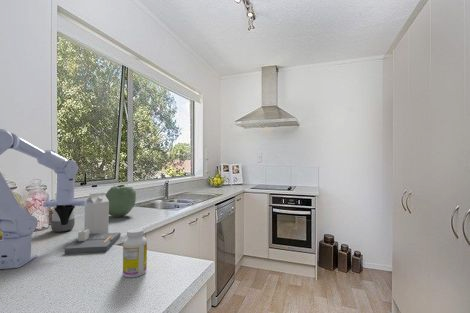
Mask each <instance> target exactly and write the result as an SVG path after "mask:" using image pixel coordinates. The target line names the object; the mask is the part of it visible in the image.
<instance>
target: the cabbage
mask: <svg viewBox="0 0 470 313" xmlns="http://www.w3.org/2000/svg"><path fill="white" fill-rule="evenodd" d="M105 196H106V197H107V199H108V200H109V216H111V217H114V218H122V217H124V216H126V215H128V214H130V212H131V211H132V209H133V208H134V207H135V205H136V199H137V191H136V190H135V189H134V188H133V187H132V186H131V185H129V184H128V183H124V184H120V185H113V186H111V187H110V188H109V189H108V190H107V192H106V193H105Z"/></svg>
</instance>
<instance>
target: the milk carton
mask: <svg viewBox="0 0 470 313" xmlns="http://www.w3.org/2000/svg"><path fill="white" fill-rule="evenodd" d="M105 195H106V192H104V191H103V192H97V193H89V197H88V198H87V199H86V205H85V206H84V227H83V229H89V234H97V233H109V216H110V215H109V200H108V199H107V197H106V196H105Z"/></svg>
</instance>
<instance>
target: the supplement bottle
mask: <svg viewBox="0 0 470 313" xmlns="http://www.w3.org/2000/svg"><path fill="white" fill-rule="evenodd" d="M144 232H145V231H144V228H140V227H139V228H138V227H136V228H131V229H128V230H127V231H126V236H127V238H126V239H124V241H123V243H122V244H123V245H122V275H123V276H124V277H125V278H136V277H140V276H142V275H144V274H145V273H146V272H147V266H148V265H147V262H148V261H147V260H148V259H147V258H148V256H147V255H148V250H147V249H148V240H147V238H146V237H145V236H144Z"/></svg>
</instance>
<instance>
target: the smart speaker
mask: <svg viewBox="0 0 470 313" xmlns="http://www.w3.org/2000/svg"><path fill="white" fill-rule="evenodd" d="M60 205H69V204H60ZM56 207H57V206H53V210H52V216H51V223H50V229H51V231H52V232H54V233H66V232H70V231H71V230H73V228H74V227H75V223H76V221H75V220H76V218H75V208H74V209H73V211H72V213H71V215H70V217H69V221H68V224H66V225H61V221H60V218H59V216H58V214H57V212H56V211H55V208H56Z"/></svg>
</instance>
